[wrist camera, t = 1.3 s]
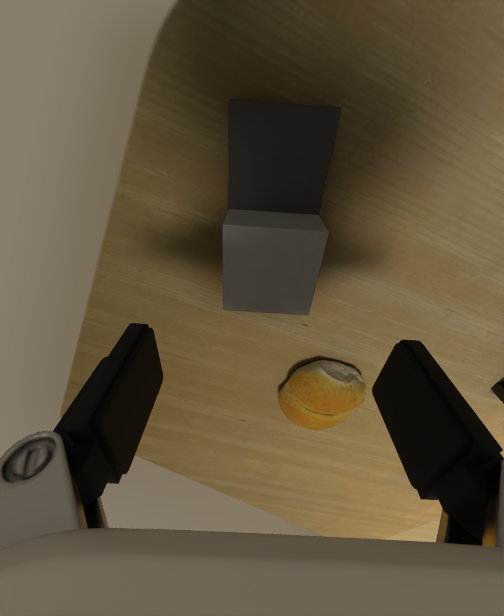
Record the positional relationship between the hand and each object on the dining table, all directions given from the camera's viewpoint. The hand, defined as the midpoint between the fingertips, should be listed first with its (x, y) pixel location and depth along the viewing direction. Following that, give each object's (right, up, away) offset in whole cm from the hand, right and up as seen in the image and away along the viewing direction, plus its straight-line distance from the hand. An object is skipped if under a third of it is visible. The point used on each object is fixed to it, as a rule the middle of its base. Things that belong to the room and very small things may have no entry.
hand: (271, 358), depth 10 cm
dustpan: (+1, +9, +7) cm, 11 cm away
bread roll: (+6, -6, +18) cm, 20 cm away
